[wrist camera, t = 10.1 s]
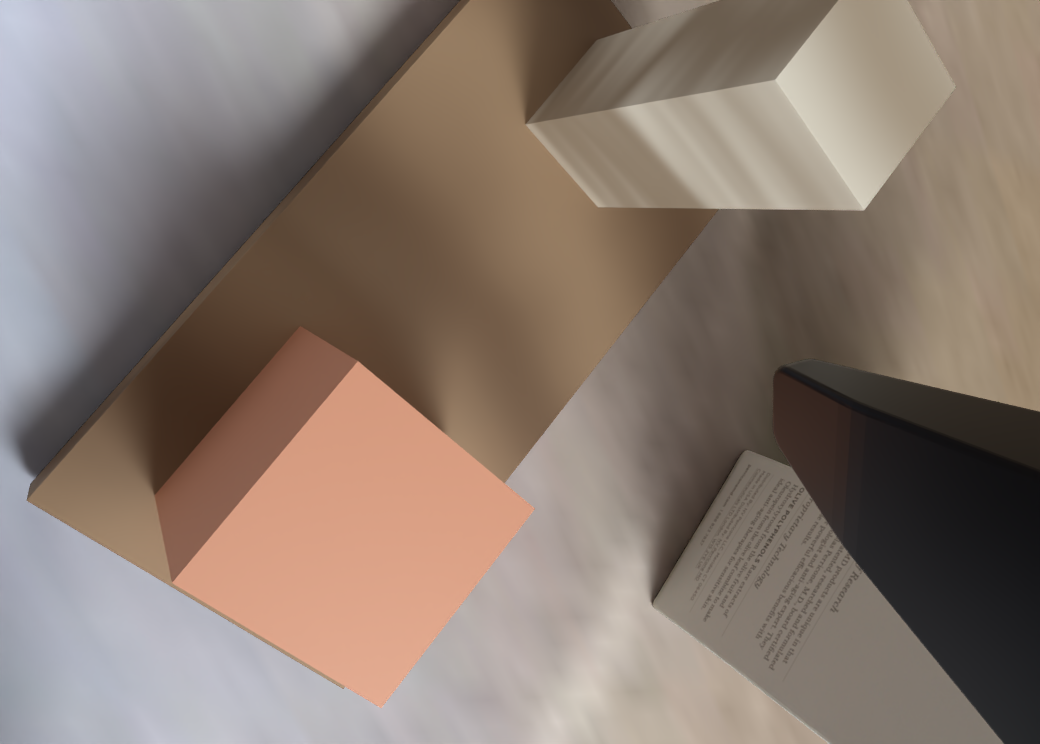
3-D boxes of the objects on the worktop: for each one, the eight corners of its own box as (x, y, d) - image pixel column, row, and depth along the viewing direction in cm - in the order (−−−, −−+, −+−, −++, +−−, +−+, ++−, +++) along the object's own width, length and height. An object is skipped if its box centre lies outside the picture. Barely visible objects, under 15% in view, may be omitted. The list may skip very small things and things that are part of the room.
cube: (322, 603, 21) (381, 707, 17) (154, 495, 19) (172, 582, 15) (447, 448, 22) (534, 509, 18) (300, 325, 20) (358, 361, 16)
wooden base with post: (331, 666, 23) (481, 961, 14) (30, 483, 19) (-28, 733, 10) (717, 178, 26) (1047, 165, 17) (524, -72, 22) (823, -262, 13)
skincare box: (871, 545, 32) (1445, 798, 19) (783, 697, 32) (1310, 1078, 18) (737, 439, 28) (1336, 662, 15) (634, 611, 28) (1160, 1012, 14)
